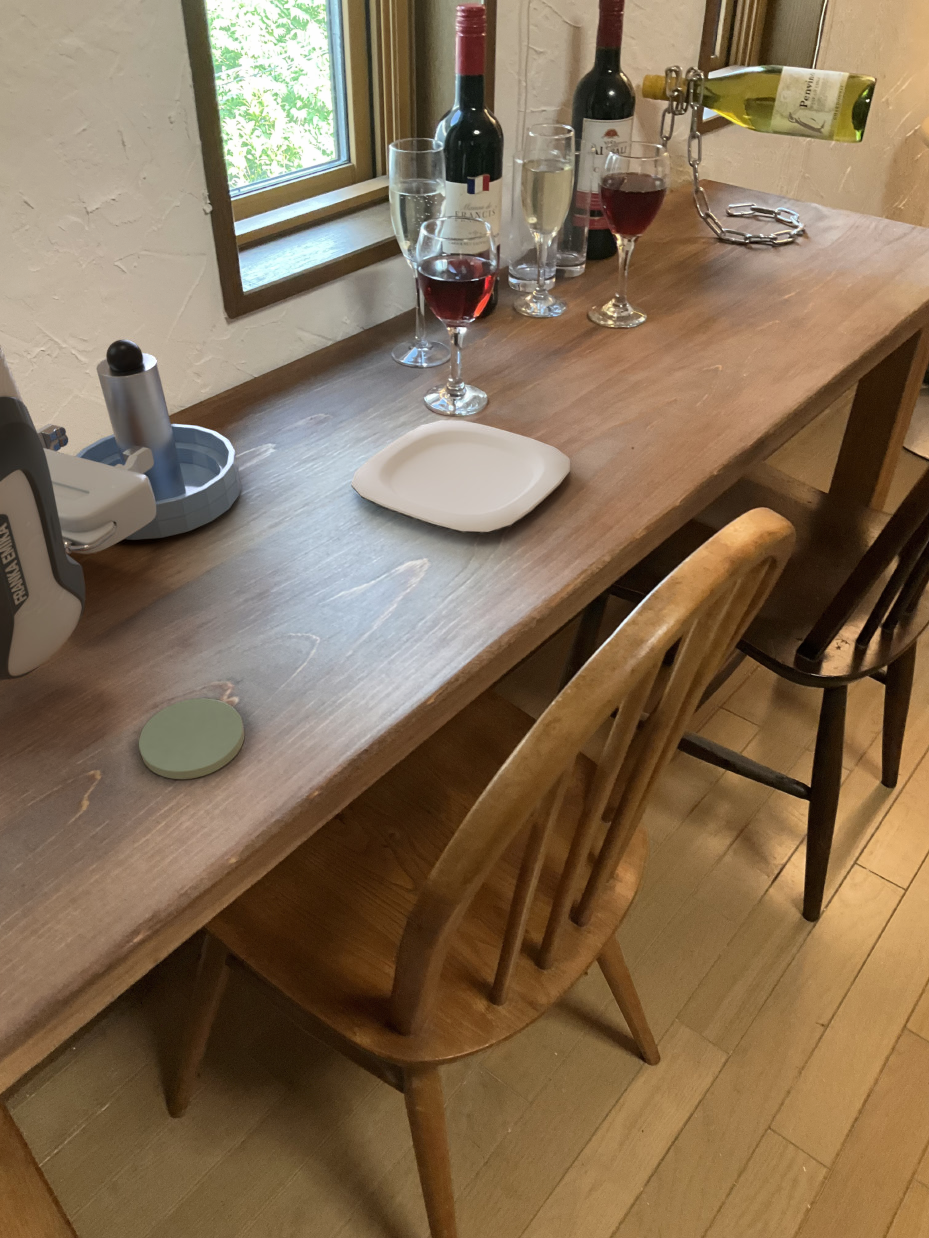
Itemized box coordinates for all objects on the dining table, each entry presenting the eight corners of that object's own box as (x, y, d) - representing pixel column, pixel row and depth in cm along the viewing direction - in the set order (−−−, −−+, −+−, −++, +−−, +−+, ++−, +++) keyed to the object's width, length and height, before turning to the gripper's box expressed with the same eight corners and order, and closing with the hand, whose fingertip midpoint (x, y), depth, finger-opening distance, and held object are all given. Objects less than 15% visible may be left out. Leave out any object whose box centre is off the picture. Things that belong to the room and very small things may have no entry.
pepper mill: (136, 513, 88) (94, 357, 79) (127, 487, 92) (86, 335, 82) (190, 500, 90) (156, 346, 80) (179, 476, 93) (145, 325, 84)
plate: (437, 424, 102) (437, 409, 101) (589, 469, 94) (590, 453, 93) (329, 500, 90) (328, 484, 89) (493, 559, 83) (493, 542, 82)
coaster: (151, 793, 63) (148, 784, 62) (132, 724, 68) (130, 716, 67) (256, 759, 65) (254, 751, 64) (230, 694, 70) (228, 686, 69)
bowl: (88, 561, 83) (76, 523, 81) (66, 480, 94) (55, 444, 91) (259, 520, 88) (253, 482, 86) (220, 447, 99) (213, 412, 96)
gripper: (68, 520, 67) (193, 433, 76) (-134, 460, 74) (4, 388, 83) (92, 592, 71) (207, 501, 80) (-102, 529, 78) (26, 452, 87)
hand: (102, 443), depth 82 cm, fingers open, 8 cm apart
